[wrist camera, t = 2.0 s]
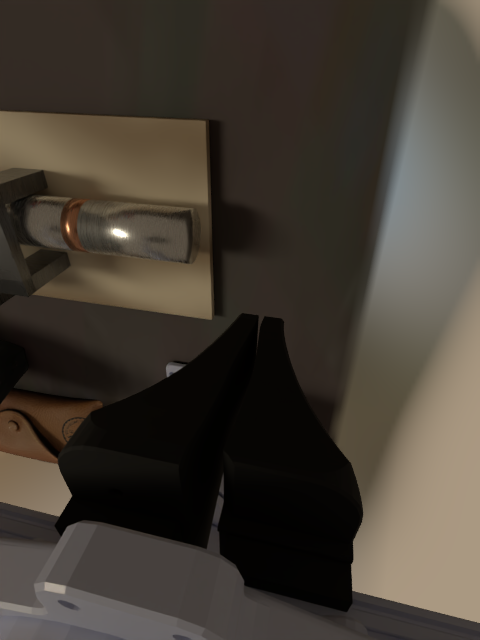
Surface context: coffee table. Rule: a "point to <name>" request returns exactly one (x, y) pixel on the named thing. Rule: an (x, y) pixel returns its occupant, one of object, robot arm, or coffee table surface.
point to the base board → (121, 199)
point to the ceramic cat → (10, 367)
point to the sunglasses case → (40, 423)
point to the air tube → (107, 227)
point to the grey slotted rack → (3, 247)
